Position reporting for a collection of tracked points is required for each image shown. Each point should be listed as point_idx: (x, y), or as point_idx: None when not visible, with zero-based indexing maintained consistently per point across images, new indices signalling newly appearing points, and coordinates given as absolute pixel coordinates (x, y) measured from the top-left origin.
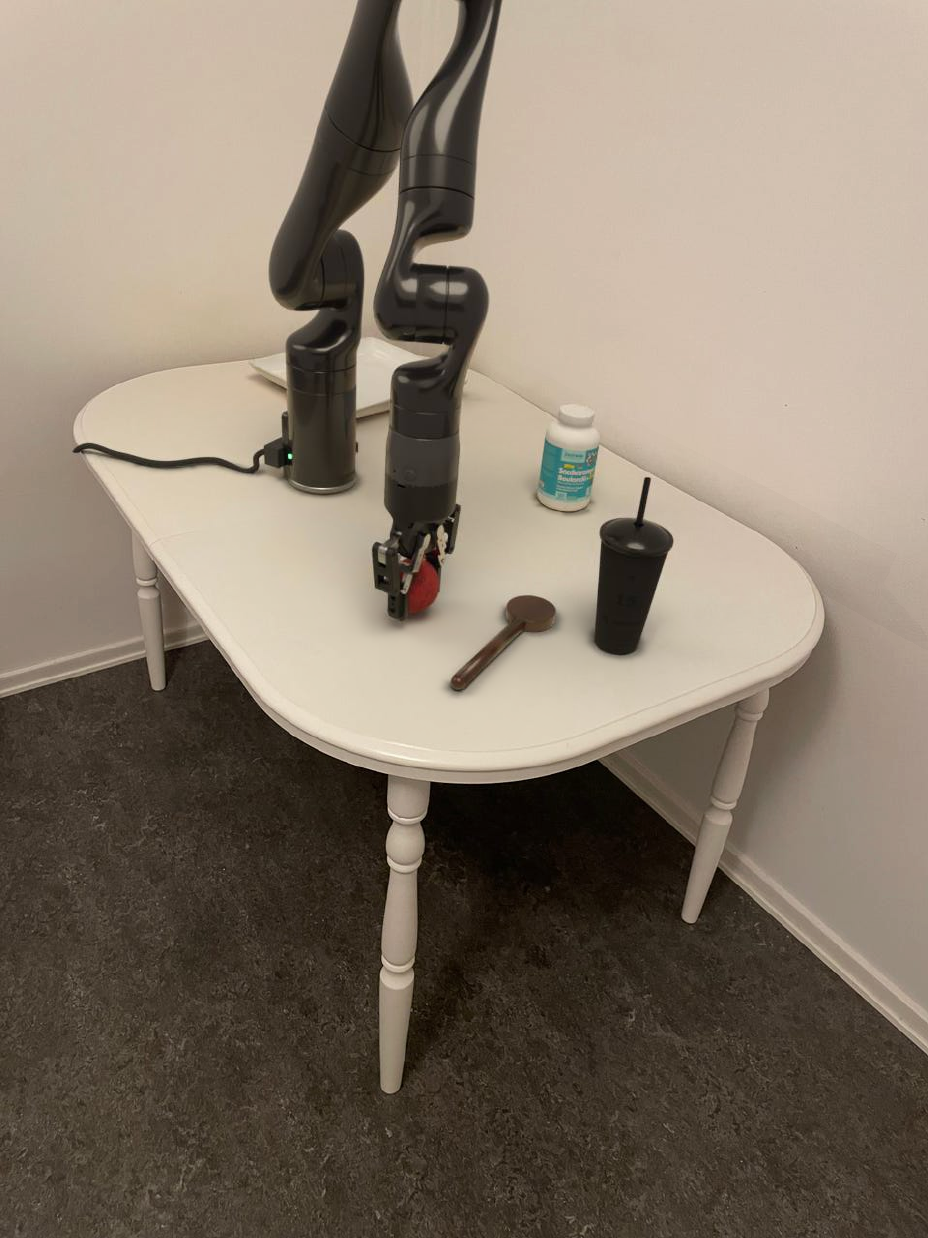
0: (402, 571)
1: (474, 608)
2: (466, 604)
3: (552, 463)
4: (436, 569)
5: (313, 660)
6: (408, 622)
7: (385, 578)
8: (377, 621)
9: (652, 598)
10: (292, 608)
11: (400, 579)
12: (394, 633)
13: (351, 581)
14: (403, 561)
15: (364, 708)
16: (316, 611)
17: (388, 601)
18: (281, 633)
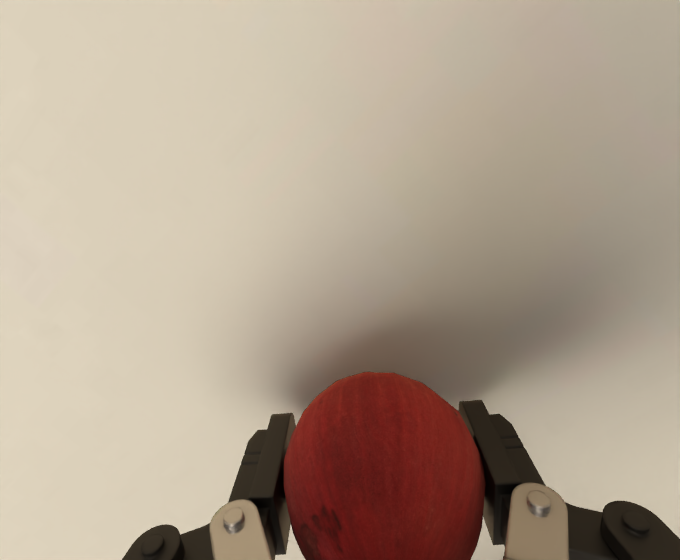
0: (315, 550)
1: None
2: None
3: None
4: (491, 531)
5: (19, 346)
6: None
7: (211, 542)
8: (280, 349)
9: None
10: (117, 100)
11: (296, 530)
12: (271, 413)
13: (403, 128)
14: (369, 537)
15: (24, 521)
16: (173, 179)
17: (238, 474)
18: (5, 188)
